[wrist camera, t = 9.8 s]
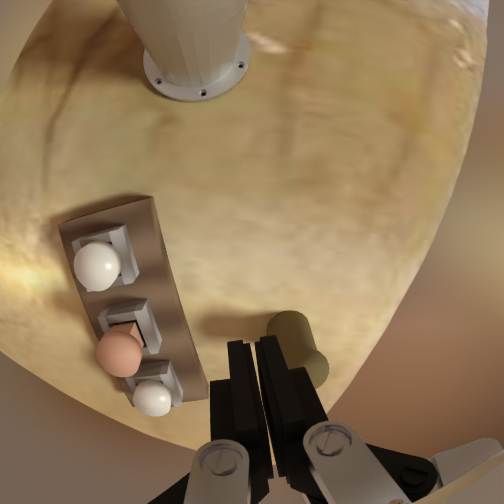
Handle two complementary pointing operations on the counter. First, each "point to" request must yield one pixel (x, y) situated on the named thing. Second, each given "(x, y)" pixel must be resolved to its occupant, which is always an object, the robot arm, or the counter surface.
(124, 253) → the button board
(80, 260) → the button near
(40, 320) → the counter surface
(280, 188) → the counter surface
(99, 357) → the button middle
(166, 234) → the counter surface
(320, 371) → the cork
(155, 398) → the button far
